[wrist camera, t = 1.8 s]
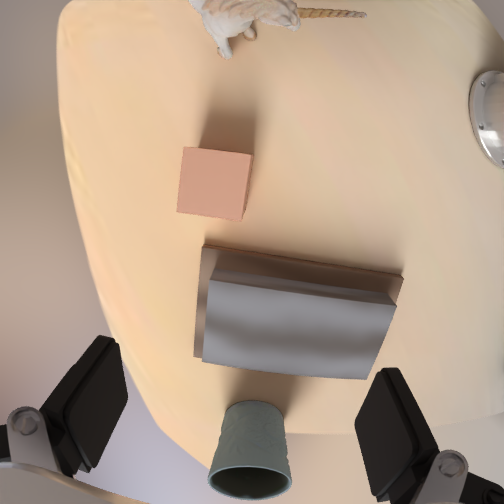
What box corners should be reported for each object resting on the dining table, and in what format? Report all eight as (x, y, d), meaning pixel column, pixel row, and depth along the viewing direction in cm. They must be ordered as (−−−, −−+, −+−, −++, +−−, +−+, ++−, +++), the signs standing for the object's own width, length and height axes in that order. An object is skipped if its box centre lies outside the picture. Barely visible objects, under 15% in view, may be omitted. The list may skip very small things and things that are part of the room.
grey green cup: (227, 438, 41) (218, 500, 30) (211, 397, 38) (196, 466, 27) (291, 434, 40) (294, 498, 29) (285, 391, 37) (288, 464, 26)
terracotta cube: (198, 147, 28) (183, 146, 23) (253, 154, 28) (250, 154, 23) (191, 201, 30) (176, 212, 25) (245, 209, 30) (241, 221, 25)
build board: (203, 244, 31) (195, 257, 28) (400, 275, 31) (414, 290, 28) (195, 351, 36) (188, 372, 32) (363, 371, 36) (371, 391, 32)
